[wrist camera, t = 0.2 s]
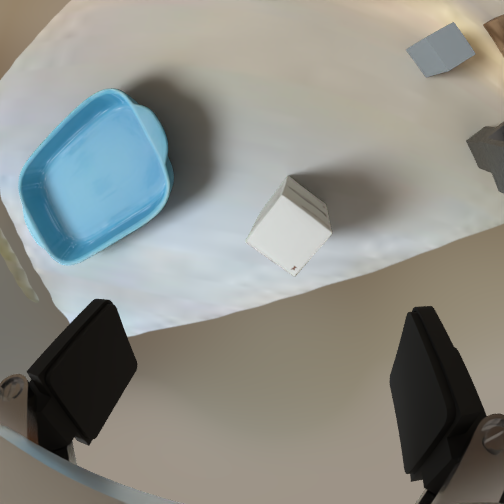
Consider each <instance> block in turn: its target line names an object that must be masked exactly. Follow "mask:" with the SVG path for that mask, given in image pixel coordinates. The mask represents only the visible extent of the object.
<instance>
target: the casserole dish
mask: <svg viewBox="0 0 504 504" xmlns="http://www.w3.org/2000/svg"><path fill="white" fill-rule="evenodd" d="M173 182H174V173H173V168H172V165H171V162H170V160H169V158H168V140H167V136H166V133H165V131H164V128H163V126H162V125H161V123H160V121H159V119H158V118H157V116H156V115H155V113H154V112H153V111H152V110H150V109H149V108H148V107H146V106H143V105H139V104H138V103H137V102H136V101H135V100H134V99H132V98H131V97H130V96H128V95H127V94H126V93H124V92H123V91H121V90H118V89H112V88H111V89H104V90H101V91H99V92H97V93H95V94H93V95H91V96H90V97H89V98H87V99H86V100H84V101H83V102H82V103H81V104H80V105H79V106H78V107H76V108H75V109H74V110H73V111H72V112H71V113H70V114H69V115H68V116H67V117H66V118H65V119H64V120H63V121H62V122H61V123H60V124H59V125H58V126H57V127H56V128H55V129H54V130H53V131H52V132H51V133H50V134H49V136H48V137H47V138H46V139H45V140H44V141H43V142H42V143H41V144H40V145H39V147H38V148H37V149H36V150H35V151H34V152H33V154H32V155H31V156H30V158H29V159H28V160H27V162H26V163H25V165H24V166H23V168H22V171H21V173H20V176H19V183H18V189H19V195H20V199H21V202H22V206H23V213H24V219H25V222H26V225H27V227H28V229H29V231H30V233H31V235H32V236H33V238H34V240H35V241H36V243H37V244H38V245H39V246H41V247H42V248H44V249H45V250H46V251H47V252H48V254H49V255H50V256H51V257H52V258H53V259H54V260H55V261H56V262H58V263H60V264H62V265H75V264H78V263H80V262H82V261H84V260H86V259H88V258H90V257H91V256H93V255H95V254H97V253H98V252H100V251H101V250H103V249H105V248H106V247H108V246H110V245H112V244H113V243H115V242H117V241H118V240H120V239H122V238H123V237H125V236H127V235H128V234H130V233H132V232H133V231H135V230H137V229H138V228H140V227H142V226H143V225H145V224H146V223H147V222H149V221H150V220H151V219H153V218H154V217H155V216H156V215H157V214H158V213H159V212H160V211H161V210H162V209H163V208H164V206H165V204H166V203H167V201H168V198H169V195H170V192H171V190H172V186H173Z"/></svg>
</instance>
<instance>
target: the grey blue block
mask: <svg viewBox="0 0 504 504" xmlns="http://www.w3.org/2000/svg"><path fill="white" fill-rule="evenodd" d="M406 51H407V52H408V53H409V55H410V56H411V57H412V59H413V60H414V62H415V63H416V64H417V66H418V67H419V68H420V70H421V71H422V73H423V74H424V76H425V77H429V76H433V75H436V74H440V73H443V72H447V71H450V70H451V69H453V68H454V67H456V66H457V65H459V64H461V63H462V62H464V61H465V60H467V59H469V58H470V57H472V56H473V55H475V52H474V50H473V49H472V47H471V46H470V44H469V43H468V41H467V40H466V38H465V37H464V36H463V34H462V33H461V31H460V30H459V29H458V27H457V26H456V24H455V23H454V22H453V23H451V24H449V25H447V26H445V27H443V28H442V29H440V30H438V31H436V32H434V33H433V34H431V35H429V36H427V37H426V38H424V39H422V40H421V41H419V42H417V43H416V44H414V45H413V46H411V47H409V48H408V49H406Z"/></svg>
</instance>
